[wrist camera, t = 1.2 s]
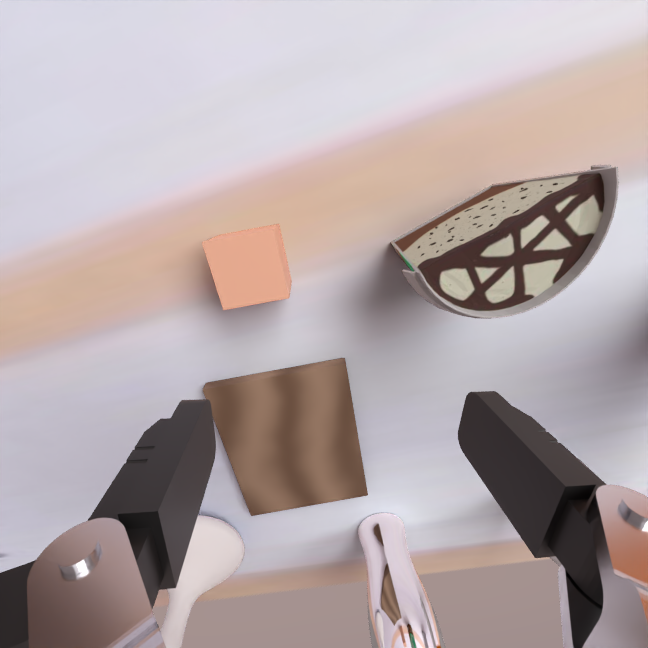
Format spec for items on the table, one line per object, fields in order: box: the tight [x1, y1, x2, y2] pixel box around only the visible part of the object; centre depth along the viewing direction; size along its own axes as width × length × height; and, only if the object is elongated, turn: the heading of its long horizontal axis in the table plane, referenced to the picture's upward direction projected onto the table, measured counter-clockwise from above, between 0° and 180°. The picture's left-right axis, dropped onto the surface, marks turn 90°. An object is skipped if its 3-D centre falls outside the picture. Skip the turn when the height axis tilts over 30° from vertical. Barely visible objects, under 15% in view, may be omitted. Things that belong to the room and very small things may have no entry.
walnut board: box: [203, 358, 368, 516], centre depth 34 cm, size 14×18×1 cm
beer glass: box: [358, 513, 446, 648], centre depth 34 cm, size 7×7×15 cm
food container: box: [391, 165, 619, 318], centre depth 23 cm, size 12×6×10 cm, turn 119°
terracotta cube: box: [202, 224, 292, 310], centre depth 24 cm, size 5×5×5 cm
